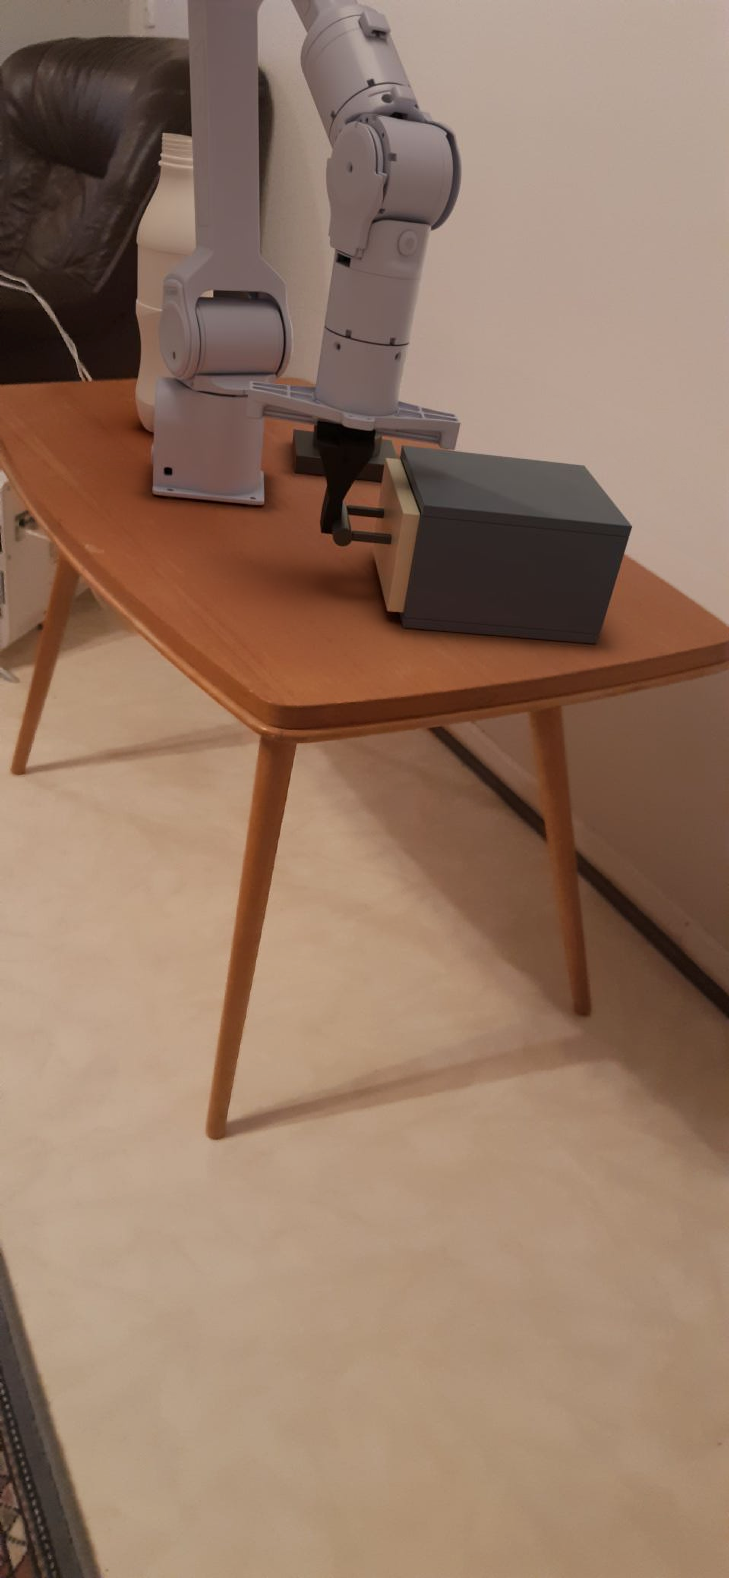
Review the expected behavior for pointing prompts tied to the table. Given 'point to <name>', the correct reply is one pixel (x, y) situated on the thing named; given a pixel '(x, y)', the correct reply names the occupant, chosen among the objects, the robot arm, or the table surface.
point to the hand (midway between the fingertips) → (334, 529)
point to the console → (311, 461)
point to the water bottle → (162, 260)
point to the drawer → (387, 532)
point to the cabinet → (511, 546)
